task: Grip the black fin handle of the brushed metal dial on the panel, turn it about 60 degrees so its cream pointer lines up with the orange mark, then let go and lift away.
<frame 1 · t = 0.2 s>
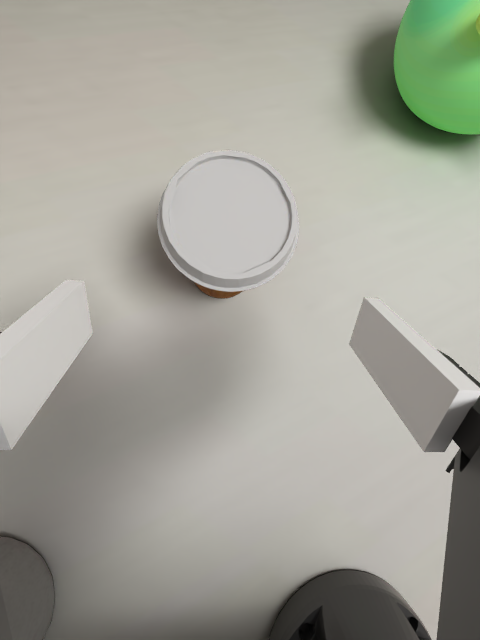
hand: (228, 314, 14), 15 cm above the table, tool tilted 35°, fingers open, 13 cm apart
disposable coffee cup: (221, 268, 31), on the table
toy bird: (436, 107, 36), on the table
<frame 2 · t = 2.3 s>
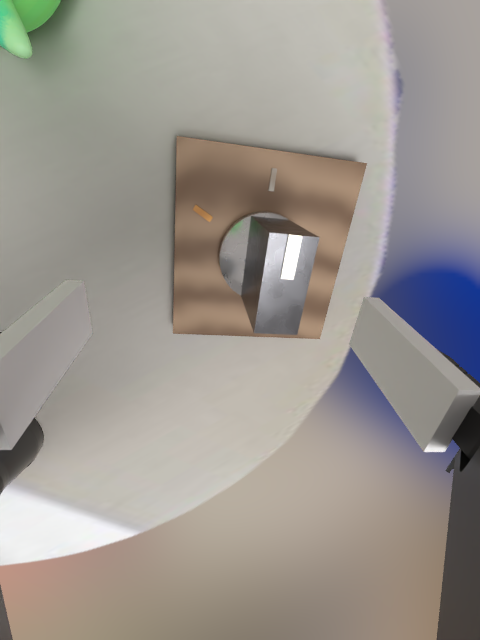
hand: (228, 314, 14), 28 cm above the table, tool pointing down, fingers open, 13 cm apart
dial panel: (257, 250, 41), on the table
dial: (271, 270, 33), point 9 cm above the table, hinge at 0.0°
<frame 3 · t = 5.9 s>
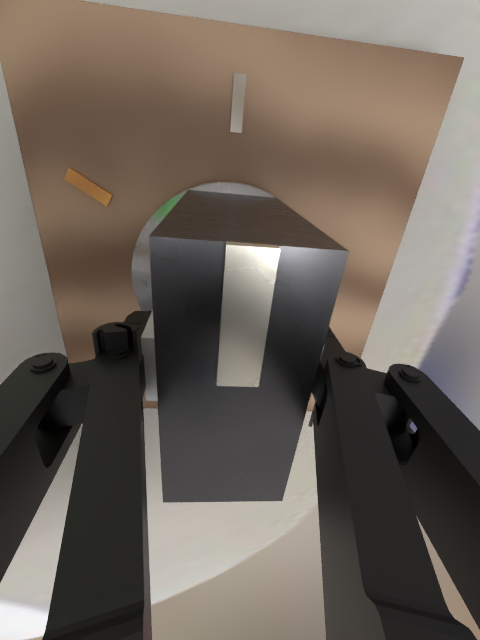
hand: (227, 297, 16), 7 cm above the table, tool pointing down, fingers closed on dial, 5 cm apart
dial panel: (224, 259, 22), on the table
dial: (228, 318, 14), point 9 cm above the table, hinge at 0.0°, touching gripper
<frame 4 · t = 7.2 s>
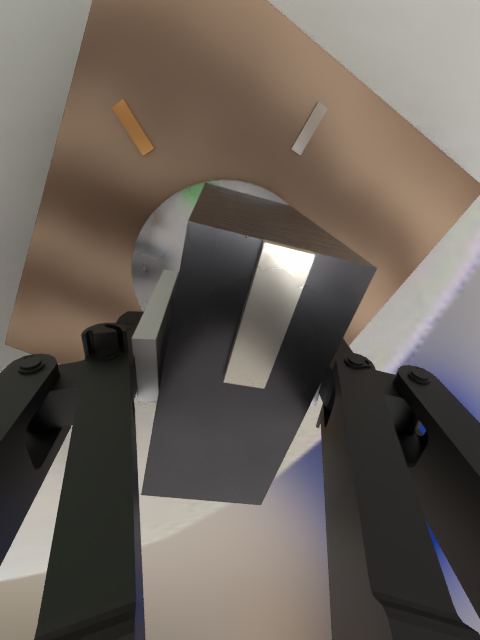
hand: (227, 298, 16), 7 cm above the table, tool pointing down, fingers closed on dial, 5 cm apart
dial panel: (225, 258, 22), on the table
dial: (229, 317, 14), point 9 cm above the table, hinge at 15.5°, touching gripper
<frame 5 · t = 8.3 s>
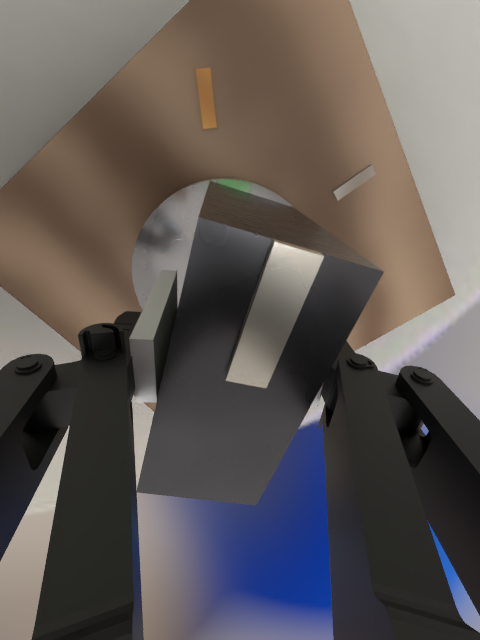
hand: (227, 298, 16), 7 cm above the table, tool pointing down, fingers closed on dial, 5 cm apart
dial panel: (225, 257, 22), on the table
dial: (229, 316, 14), point 9 cm above the table, hinge at 38.2°, touching gripper
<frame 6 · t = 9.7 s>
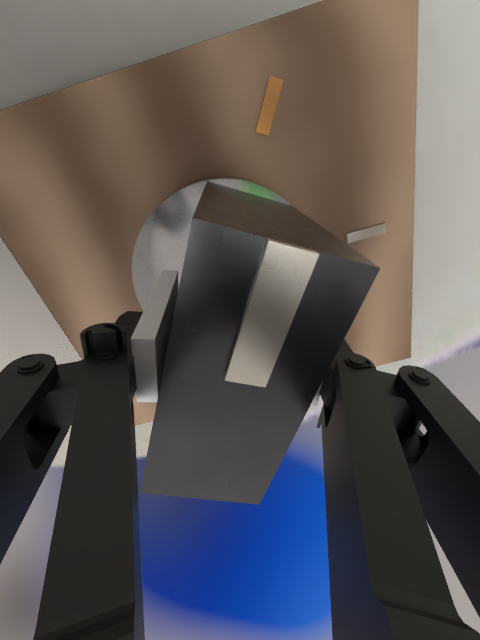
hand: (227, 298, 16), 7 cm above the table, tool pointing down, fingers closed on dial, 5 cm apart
dial panel: (225, 257, 22), on the table
dial: (229, 315, 14), point 9 cm above the table, hinge at 59.6°, touching gripper
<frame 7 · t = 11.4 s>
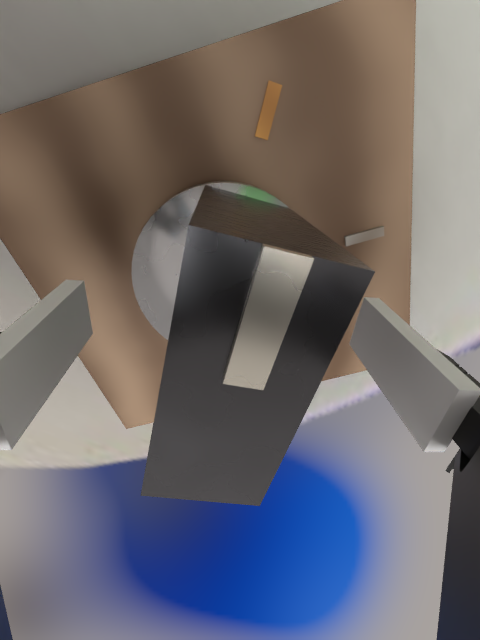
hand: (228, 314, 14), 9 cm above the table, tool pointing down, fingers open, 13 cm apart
dial panel: (224, 259, 22), on the table
dial: (228, 318, 14), point 9 cm above the table, hinge at 60.4°
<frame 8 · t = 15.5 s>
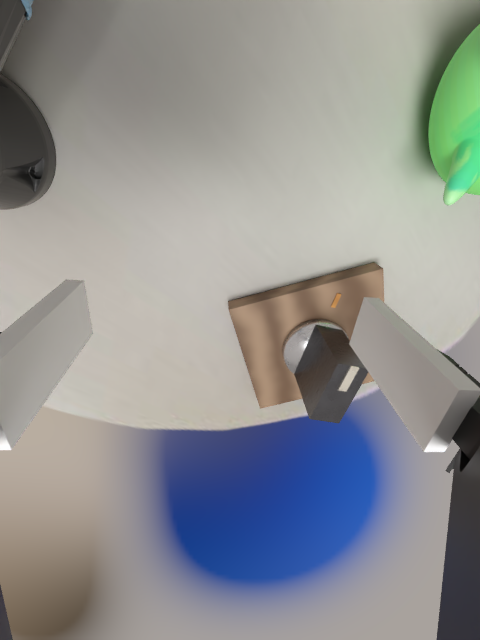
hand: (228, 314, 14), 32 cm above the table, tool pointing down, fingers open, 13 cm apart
dial panel: (309, 337, 54), on the table
dial: (325, 369, 46), point 9 cm above the table, hinge at 60.4°
toy bird: (460, 114, 39), on the table
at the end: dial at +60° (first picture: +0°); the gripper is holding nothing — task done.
